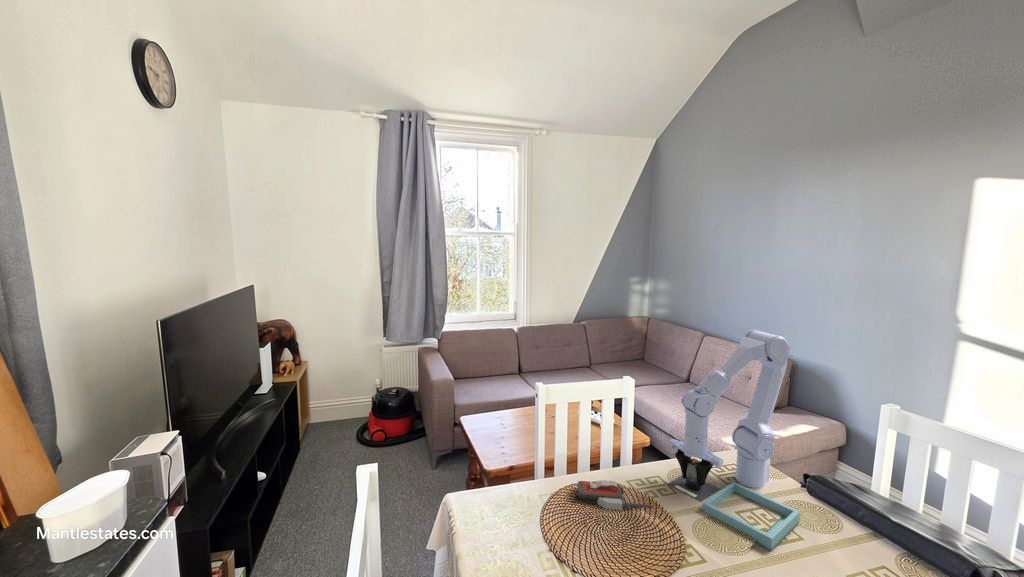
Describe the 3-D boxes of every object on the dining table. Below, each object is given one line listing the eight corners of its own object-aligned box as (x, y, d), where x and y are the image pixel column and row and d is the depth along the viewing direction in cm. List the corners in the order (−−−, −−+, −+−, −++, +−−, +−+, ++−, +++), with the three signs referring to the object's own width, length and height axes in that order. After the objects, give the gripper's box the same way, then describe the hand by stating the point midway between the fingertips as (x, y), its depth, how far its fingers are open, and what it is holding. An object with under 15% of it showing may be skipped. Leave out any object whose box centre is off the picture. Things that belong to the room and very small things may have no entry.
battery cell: (690, 480, 118) (691, 454, 117) (703, 487, 114) (705, 460, 114) (682, 485, 115) (683, 459, 114) (696, 492, 112) (697, 465, 111)
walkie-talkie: (574, 508, 107) (654, 515, 105) (575, 492, 107) (654, 498, 104) (573, 488, 116) (647, 494, 113) (574, 473, 115) (647, 479, 113)
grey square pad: (686, 476, 122) (686, 472, 122) (719, 492, 114) (720, 488, 114) (666, 487, 116) (666, 483, 116) (700, 505, 108) (700, 501, 108)
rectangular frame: (732, 491, 114) (733, 481, 114) (799, 523, 101) (800, 511, 101) (702, 513, 104) (702, 502, 104) (771, 551, 92) (772, 538, 91)
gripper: (664, 428, 117) (662, 474, 118) (714, 448, 105) (711, 499, 106) (678, 422, 121) (675, 466, 122) (728, 441, 109) (725, 489, 111)
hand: (693, 481), depth 115 cm, fingers closed on battery cell, 4 cm apart
